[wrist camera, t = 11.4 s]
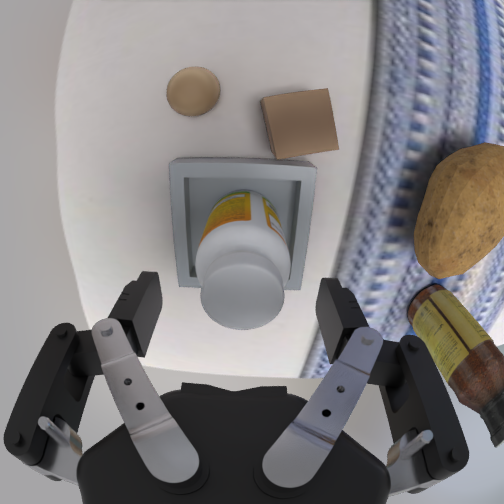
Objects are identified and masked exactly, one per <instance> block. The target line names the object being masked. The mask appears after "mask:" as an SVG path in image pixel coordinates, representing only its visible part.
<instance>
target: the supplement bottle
mask: <svg viewBox="0 0 504 504" xmlns="http://www.w3.org/2000/svg"><path fill="white" fill-rule="evenodd" d="M195 267H196V274H197V278H198V280H199V283H200V284H201V286H202V288H201V303H202V306H203V308H204V310H205V312H206V313H207V314H208V316H209V317H210V318H211V319H213V320H214V321H215V322H217V323H218V324H220V325H222V326H225V327H228V328H232V329H238V330H248V329H254V328H258V327H261V326H263V325H265V324H267V323H269V322H270V321H272V320H273V319H274V318H275V317H276V316H277V315H278V313H279V312H280V310H281V308H282V306H283V303H284V287H285V285H286V283H287V281H288V279H289V275H290V268H291V263H290V255H289V251H288V247H287V244H286V241H285V237H284V234H283V230H282V227H281V224H280V220H279V217H278V214H277V211H276V209H275V207H274V206H273V204H272V203H271V202H270V201H269V200H268V199H267V198H266V197H264V196H263V195H261V194H259V193H257V192H254V191H248V190H240V191H234V192H231V193H228V194H226V195H225V196H223V197H222V198H220V199H219V200H218V201H217V202H216V204H215V205H214V206H213V208H212V210H211V212H210V215H209V217H208V221H207V224H206V226H205V229H204V232H203V235H202V238H201V241H200V244H199V247H198V251H197V255H196V262H195Z"/></svg>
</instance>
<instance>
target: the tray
mask: <svg viewBox="0 0 504 504" xmlns="http://www.w3.org/2000/svg"><path fill="white" fill-rule="evenodd" d="M316 173H317V167H315V166H314V165H313V164H311V163H310V162H306V161H294V160H277V159H260V158H226V157H196V158H177V159H175V160H174V161H172V162H171V163H169V174H170V195H171V211H172V224H173V236H174V247H175V257H176V266H177V275H178V284H179V287H195V288H202V286H201V284H200V283H199V280H198V278H197V274H196V267H195V262H196V255H197V251H198V247H199V244H200V241H201V238H202V235H203V232H204V229H205V226H206V224H207V221H208V217H209V215H210V212H211V210H212V208H213V206H214V205H215V204H216V202H217V201H218V200H219V199H220V198H222V197H223V196H225V195H226V194H228V193H231V192H234V191H240V190H248V191H254V192H257V193H259V194H261V195H263V196H264V197H266V198H267V199H268V200H269V201H270V202H271V203H272V204H273V206H274V207H275V209H276V211H277V214H278V217H279V220H280V224H281V227H282V230H283V234H284V237H285V241H286V244H287V247H288V251H289V255H290V263H291V268H290V275H289V279H288V281H287V283H286V285H285V287H284V290H301V284H302V278H303V271H304V265H305V259H306V252H307V245H308V238H309V231H310V224H311V216H312V208H313V200H314V191H315V183H316Z"/></svg>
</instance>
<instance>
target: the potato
mask: <svg viewBox="0 0 504 504" xmlns="http://www.w3.org/2000/svg"><path fill="white" fill-rule="evenodd" d="M503 236H504V146H500V145H496V144H491V143H481V144H478V145H475V146H472V147H467V148H463V149H459V150H458V151H456V152H454V153H453V154H451V155H449V156H448V157H447V158H445V159H444V160H443V161H441V162H440V163H439V164H438V165H437V166H436V168H435V170H434V172H433V173H432V175H431V177H430V179H429V182H428V186H427V189H426V193H425V196H424V199H423V202H422V205H421V208H420V211H419V214H418V217H417V222H416V226H415V230H414V246H415V254H416V257H417V260H418V263H419V264H420V265H421V266H422V267H423V268H424V269H425V270H426V271H427V272H428V273H429V274H430V275H431V276H433V277H435V278H438V279H441V278H446V277H450V276H454V275H459V274H463V273H465V272H466V271H467V270H468V269H470V268H471V267H472V266H474V265H475V264H476V263H477V262H479V261H480V260H481V259H482V258H484V257H485V256H486V255H487V254H488V253H489V252H490V251H491V250H492V249H493V248H494V247H495V246H496V245H497V244H498V243H499V242H500V240H501V239H502V238H503Z"/></svg>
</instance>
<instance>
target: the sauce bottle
mask: <svg viewBox="0 0 504 504" xmlns="http://www.w3.org/2000/svg"><path fill="white" fill-rule="evenodd" d="M408 319H409V322H410V324H411V325H412V327H413V330H414V331H415V333H416V334H417V336H418V337H419V338H420V339H422V340H423V341H424V343H425V344H426V346H427V348H428V350H429V352H430V354H431V356H432V358H433V360H434V362H435V364H436V365H437V367H438V368H439V370H440V372H441V373H442V375H443V377H444V378H445V380H446V382H447V383H448V385H449V386H450V387H451V388H452V389H453V391H454V392H455V394H456V396H457V398H458V400H459V402H460V403H462V404H463V405H465V406H467V407H469V408H471V409H472V410H474V411H476V412H477V413H479V414H480V416H481V418H482V419H483V420H484V422H485V424H486V426H487V428H488V430H489V432H490V435H491V441H492V443H493V444H494V447H498V446H500V445H501V444H502V443H503V442H504V356H503V354H502V353H501V352H500V351H499V349H498V348H497V347H496V345H495V344H494V342H493V340H492V339H491V337H490V336H489V335H488V334H487V333H486V331H485V330H484V329H483V328H482V327H481V325H480V324H479V323H478V322H477V321H476V320H475V319H474V317H473V316H472V315H471V314H470V313H469V312H468V310H467V309H466V308H465V307H464V306H463V305H462V304H461V303H460V301H459V300H458V299H457V298H456V297H455V296H454V295H453V294H452V293H451V292H450V291H448V290H446V289H445V288H444V287H442V286H440V285H437V284H435V285H432V286H430V287H428V288H426V289H424V290H423V291H421V292H420V293H419V294H418V295H417V296H416V297H415V299H414V300H413V301H412V303H411V304H410V307H409V310H408Z"/></svg>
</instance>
